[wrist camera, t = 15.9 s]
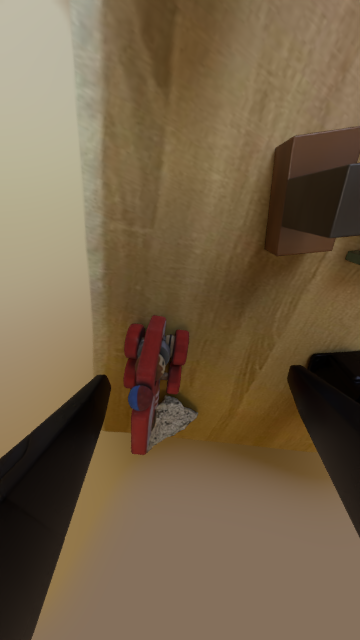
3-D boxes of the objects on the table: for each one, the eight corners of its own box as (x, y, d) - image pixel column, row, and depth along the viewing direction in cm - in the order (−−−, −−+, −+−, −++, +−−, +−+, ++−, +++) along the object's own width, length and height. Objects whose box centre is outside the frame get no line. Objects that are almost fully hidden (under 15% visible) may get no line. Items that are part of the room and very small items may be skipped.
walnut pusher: (312, 244, 18) (402, 274, 11) (264, 249, 19) (317, 281, 11) (336, 138, 14) (506, 64, 7) (275, 147, 15) (370, 86, 7)
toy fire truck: (192, 311, 22) (195, 382, 14) (177, 383, 29) (172, 464, 20) (132, 302, 22) (95, 369, 13) (130, 377, 29) (104, 456, 20)
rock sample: (195, 456, 32) (158, 486, 25) (162, 427, 36) (124, 445, 30) (214, 398, 31) (183, 413, 24) (179, 376, 36) (143, 383, 29)
